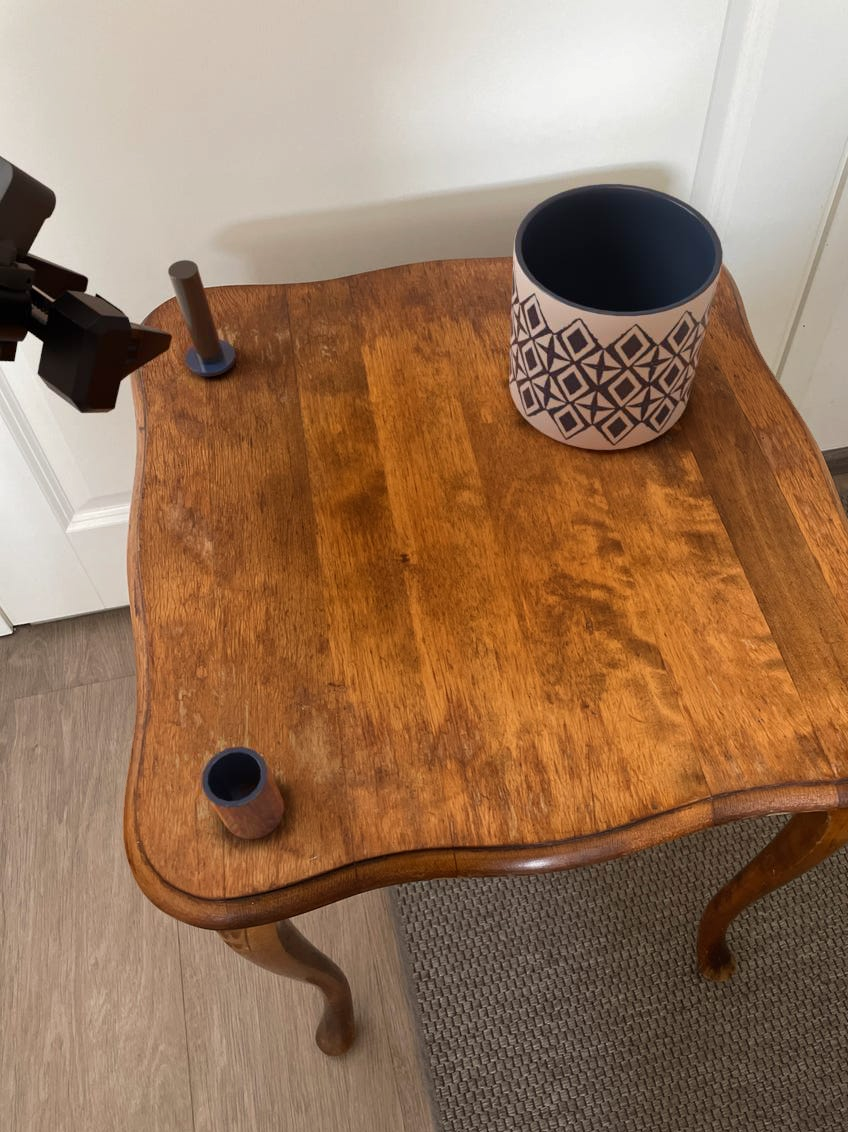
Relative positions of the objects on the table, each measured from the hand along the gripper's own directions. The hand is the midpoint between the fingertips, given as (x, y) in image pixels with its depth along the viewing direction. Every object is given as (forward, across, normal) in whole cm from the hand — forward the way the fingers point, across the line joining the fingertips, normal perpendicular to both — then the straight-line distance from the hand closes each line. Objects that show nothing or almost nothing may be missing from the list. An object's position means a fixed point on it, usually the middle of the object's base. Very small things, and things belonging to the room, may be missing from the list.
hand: (126, 311), depth 66 cm
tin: (-5, -28, +23) cm, 36 cm away
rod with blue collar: (+16, +7, +6) cm, 19 cm away
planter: (+33, -21, -5) cm, 39 cm away
